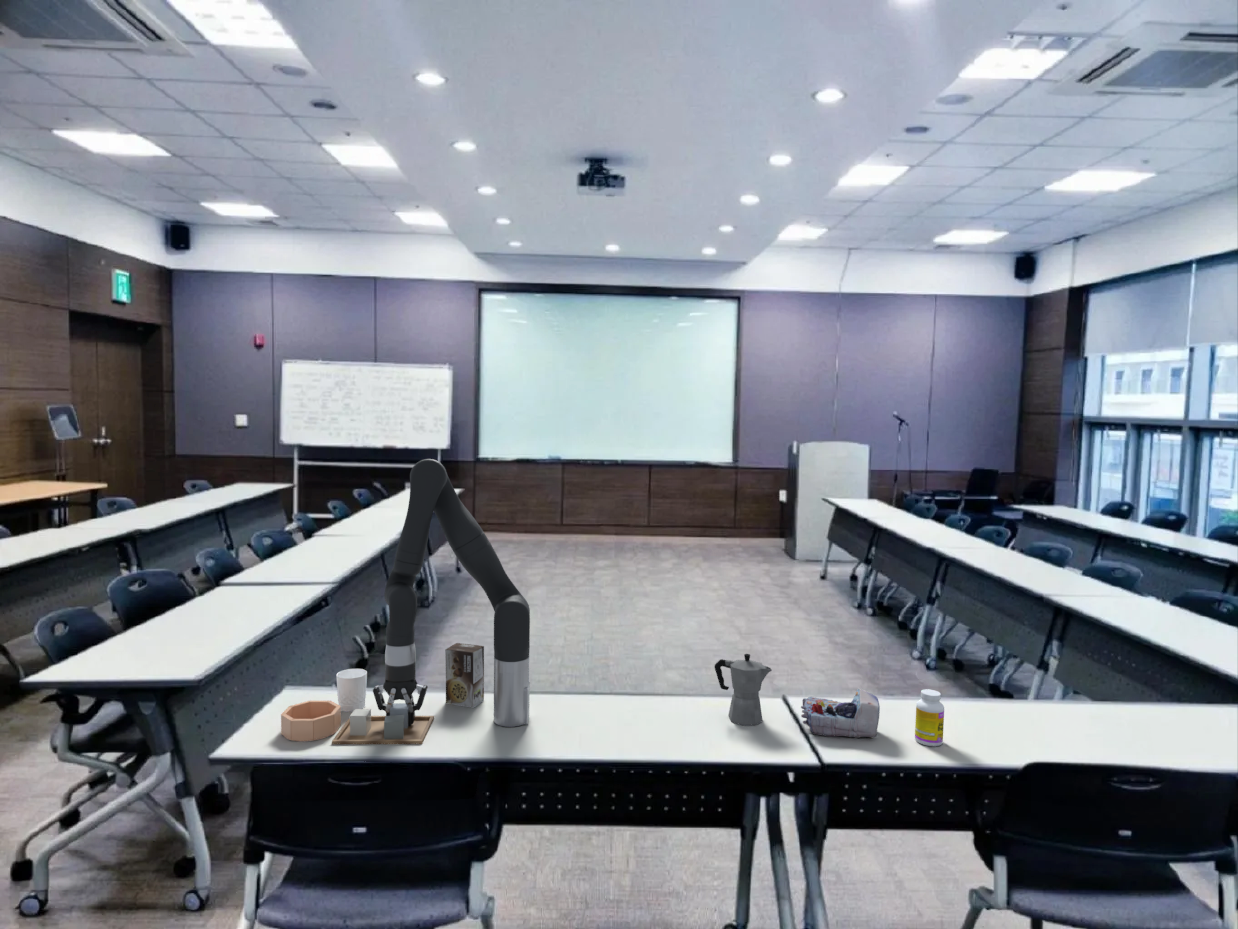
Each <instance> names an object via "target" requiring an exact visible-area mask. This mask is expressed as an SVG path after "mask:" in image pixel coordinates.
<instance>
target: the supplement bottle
mask: <svg viewBox="0 0 1238 929" xmlns="http://www.w3.org/2000/svg"><path fill="white" fill-rule="evenodd" d="M941 696H942V694H941V692H940V691H938V690H934V689H929V688H927V689H926V688H925V689H924V688H923V689H922V690H921V691H920V697H921V698H920V699H919V700H917V701H916V703H915V704H916V705H915V725H914V726H915V727H914V740H915V741H916V742H917V743H919V744H921V745H922V746H923V745H924V746H927V747H939V746H941V745H942V744H943V743H944V740H943V739H944V726H945V725H944V720H945V706H944V704H943V703H942V702H940V701H941V698H942V697H941Z"/></svg>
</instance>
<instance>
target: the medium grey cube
mask: <svg viewBox="0 0 1238 929" xmlns="http://www.w3.org/2000/svg"><path fill="white" fill-rule="evenodd" d="M384 716H385V721H384V740H392V739H404V715H394V716H386V715H384Z"/></svg>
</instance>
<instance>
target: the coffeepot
mask: <svg viewBox="0 0 1238 929" xmlns="http://www.w3.org/2000/svg"><path fill="white" fill-rule="evenodd" d="M743 655H744V659H736V660H731V659H723V658H722V659H718V661H717V662H716V663H715V664H714V671H715V674H716V676H717V680H718V683H719V688H721V690H724V691H725V690H726V691H728V690H729V686H726V685H725V678H724V676H723V671H722V667H724V668H727V669H730V676H731V677H730V678H731V685H732V689H733V694H732V697H731V700H730V701H731V702H730V706H729V711H728V718H729V721H730V722H731V723H733V724H735V725H739V726H740V725H741V726H745V727H746V726H748V727H749V726H757V725H760V723H762V722H763V713H762V708H761V707H762V706H761V700H760V696H759V695H760V694H759V692H760V691H761V689H762V683H763V681H764V679H765V678H766V677H767V675H768V674H769V673H770V672H772V668H771V667H769V666H767V665H765V664H763V663H762V662H760V661H756V660H752V659H750V658H751V654H749V653H745V654H743Z"/></svg>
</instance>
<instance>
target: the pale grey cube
mask: <svg viewBox="0 0 1238 929" xmlns="http://www.w3.org/2000/svg"><path fill="white" fill-rule="evenodd" d="M371 716H372V709H371V708H363V709H355V710H354V711H353V712H351V714H350V715H349V718H350V735H367V734H368V732H369V731H370V729H371Z"/></svg>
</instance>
